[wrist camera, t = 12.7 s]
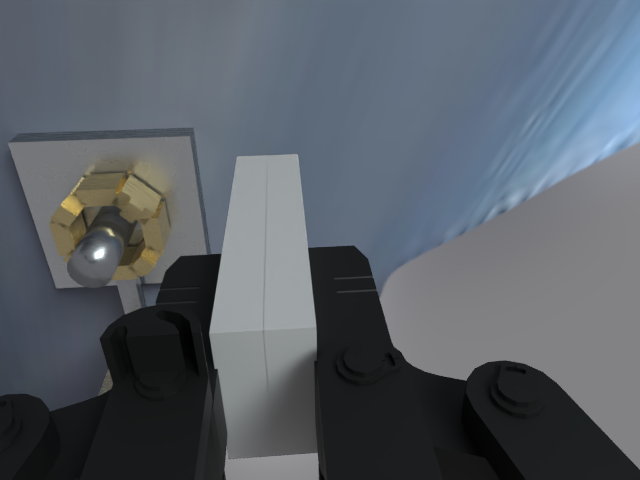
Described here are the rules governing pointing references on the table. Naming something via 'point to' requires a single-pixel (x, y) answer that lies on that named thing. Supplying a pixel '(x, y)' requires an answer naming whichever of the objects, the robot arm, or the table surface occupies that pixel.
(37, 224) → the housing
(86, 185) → the ring nut
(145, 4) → the table surface
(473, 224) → the table surface
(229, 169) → the table surface
